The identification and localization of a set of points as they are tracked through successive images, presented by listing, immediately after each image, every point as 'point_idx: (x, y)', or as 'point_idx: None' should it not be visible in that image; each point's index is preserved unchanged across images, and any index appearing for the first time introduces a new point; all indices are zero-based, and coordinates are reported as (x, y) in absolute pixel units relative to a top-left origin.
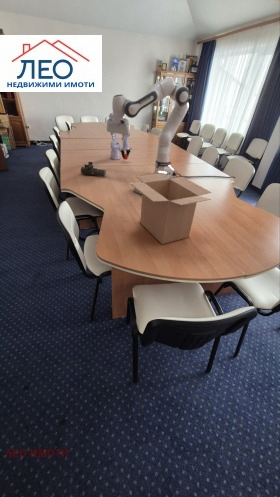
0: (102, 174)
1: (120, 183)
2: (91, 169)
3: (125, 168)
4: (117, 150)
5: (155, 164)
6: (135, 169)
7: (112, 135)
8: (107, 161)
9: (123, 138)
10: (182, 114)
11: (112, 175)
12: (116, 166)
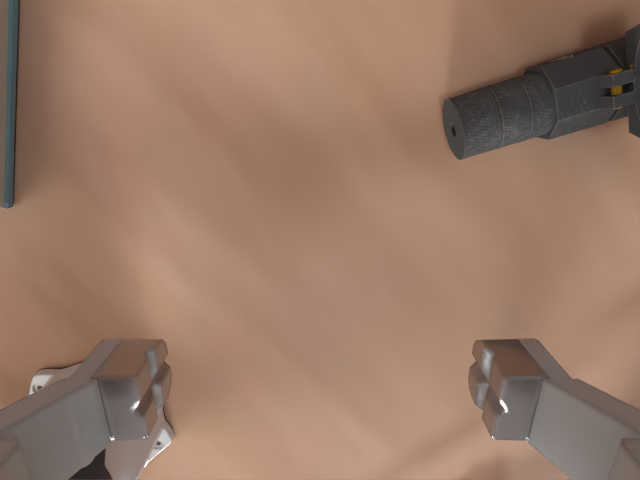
0: (459, 95)
1: (236, 72)
2: (601, 65)
3: (406, 396)
4: None
5: (100, 458)
6: (332, 419)
7: (569, 410)
8: None
9: (76, 386)
10: None
11: (406, 201)
12: None
